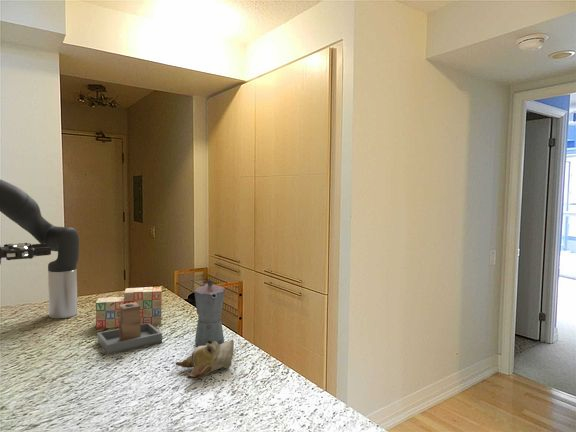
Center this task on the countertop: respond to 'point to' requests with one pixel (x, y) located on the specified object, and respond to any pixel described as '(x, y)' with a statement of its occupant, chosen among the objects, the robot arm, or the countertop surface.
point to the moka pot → (209, 313)
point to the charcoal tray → (115, 345)
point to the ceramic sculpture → (209, 358)
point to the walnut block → (129, 321)
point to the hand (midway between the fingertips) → (48, 248)
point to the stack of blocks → (142, 296)
